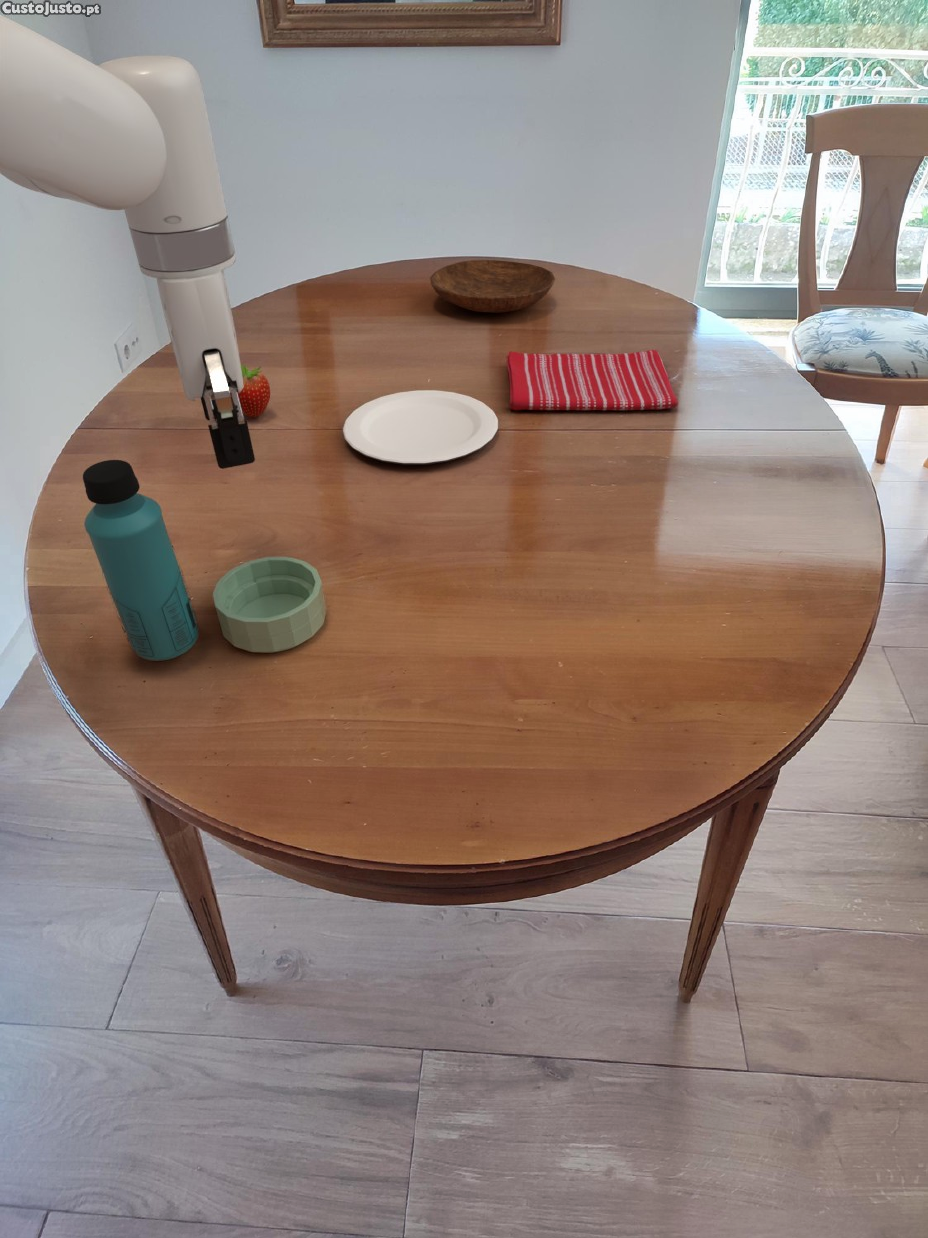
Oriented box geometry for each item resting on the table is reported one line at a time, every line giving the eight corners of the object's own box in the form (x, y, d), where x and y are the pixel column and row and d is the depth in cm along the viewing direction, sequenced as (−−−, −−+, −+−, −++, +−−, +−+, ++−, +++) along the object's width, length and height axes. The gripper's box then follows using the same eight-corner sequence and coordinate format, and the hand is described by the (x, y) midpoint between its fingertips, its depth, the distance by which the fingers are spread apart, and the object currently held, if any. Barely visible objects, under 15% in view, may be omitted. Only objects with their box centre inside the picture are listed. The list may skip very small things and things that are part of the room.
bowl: (457, 281, 160) (457, 254, 157) (568, 294, 153) (569, 266, 150) (412, 317, 146) (410, 288, 143) (531, 333, 139) (532, 303, 136)
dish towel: (506, 364, 130) (506, 347, 128) (660, 363, 129) (662, 346, 127) (506, 414, 117) (506, 397, 115) (677, 413, 116) (680, 395, 114)
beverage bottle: (214, 656, 80) (160, 472, 67) (146, 684, 77) (76, 498, 64) (190, 620, 84) (135, 440, 71) (124, 646, 81) (55, 464, 69)
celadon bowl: (231, 669, 79) (221, 632, 76) (216, 605, 86) (206, 570, 83) (337, 641, 81) (331, 605, 78) (314, 582, 89) (307, 547, 86)
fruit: (270, 406, 121) (260, 352, 116) (278, 421, 117) (268, 366, 112) (233, 414, 119) (221, 359, 114) (240, 429, 116) (228, 374, 111)
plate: (415, 387, 125) (415, 376, 123) (529, 426, 114) (529, 415, 113) (311, 441, 112) (309, 429, 111) (427, 491, 102) (427, 478, 101)
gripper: (130, 222, 72) (179, 407, 83) (141, 285, 59) (198, 494, 70) (218, 211, 73) (255, 394, 85) (248, 271, 61) (287, 476, 72)
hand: (229, 439), depth 77 cm, fingers open, 9 cm apart
